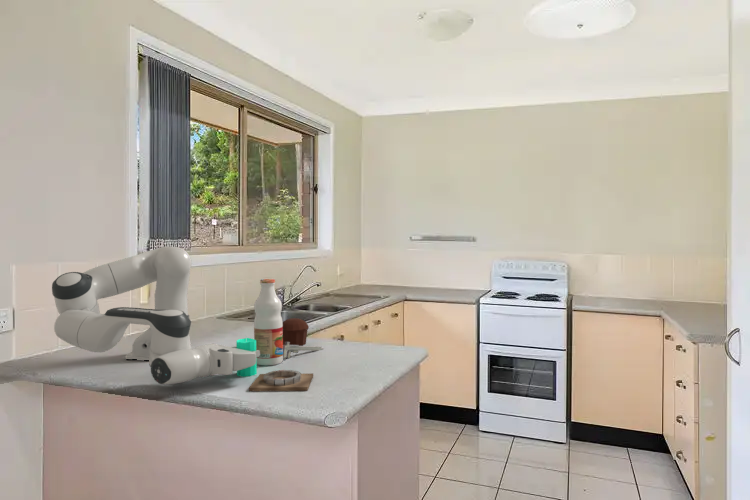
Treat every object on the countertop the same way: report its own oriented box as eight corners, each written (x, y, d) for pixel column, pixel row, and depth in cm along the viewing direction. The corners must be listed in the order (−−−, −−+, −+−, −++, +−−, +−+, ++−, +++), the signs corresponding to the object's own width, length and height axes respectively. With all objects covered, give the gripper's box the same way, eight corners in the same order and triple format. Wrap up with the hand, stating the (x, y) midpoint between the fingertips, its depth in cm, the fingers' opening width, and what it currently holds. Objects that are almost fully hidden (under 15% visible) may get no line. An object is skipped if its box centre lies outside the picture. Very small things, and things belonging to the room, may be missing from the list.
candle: (238, 371, 164) (238, 333, 164) (258, 371, 165) (257, 333, 164) (235, 376, 158) (234, 337, 158) (255, 376, 159) (254, 337, 158)
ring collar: (260, 385, 145) (260, 379, 145) (268, 375, 156) (268, 370, 156) (298, 385, 145) (298, 379, 145) (303, 375, 156) (303, 369, 156)
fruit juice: (254, 360, 179) (253, 278, 178) (282, 358, 181) (281, 277, 180) (254, 367, 170) (253, 281, 169) (283, 365, 172) (282, 280, 171)
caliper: (284, 360, 179) (284, 342, 179) (282, 360, 180) (281, 342, 179) (323, 349, 195) (323, 333, 195) (321, 349, 196) (321, 332, 196)
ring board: (249, 391, 143) (249, 387, 143) (260, 377, 157) (260, 374, 157) (307, 390, 143) (307, 387, 143) (313, 376, 157) (313, 373, 157)
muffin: (306, 340, 212) (306, 316, 211) (311, 346, 201) (311, 320, 201) (276, 342, 208) (276, 317, 207) (280, 348, 197) (280, 322, 197)
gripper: (189, 365, 157) (228, 356, 168) (231, 375, 145) (270, 365, 156) (189, 344, 157) (227, 336, 168) (231, 353, 145) (270, 344, 156)
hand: (248, 350), depth 162 cm, fingers open, 8 cm apart
